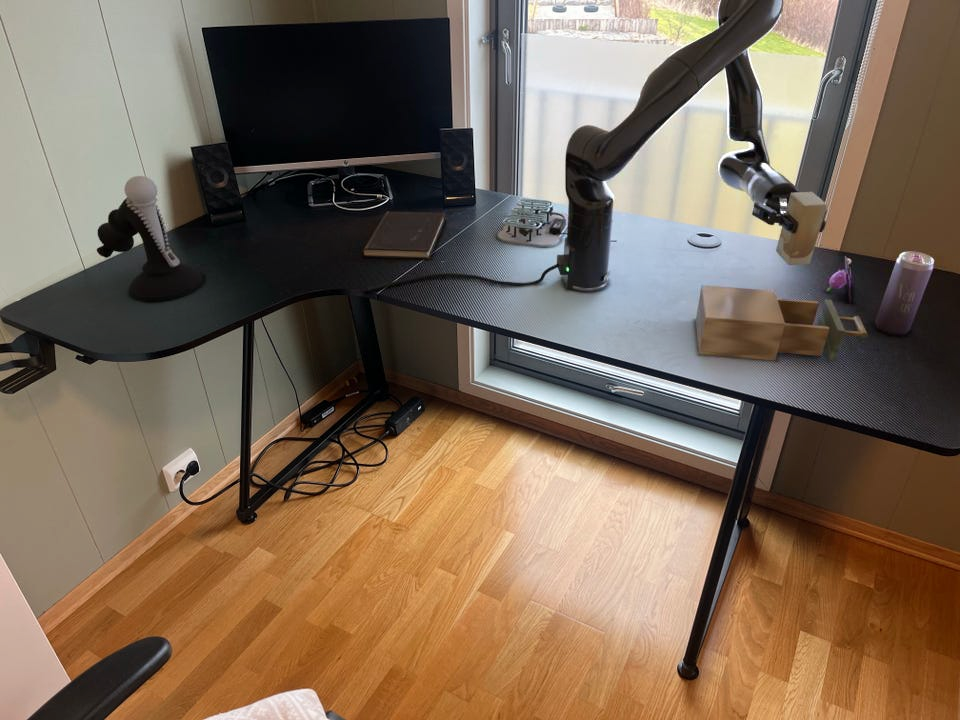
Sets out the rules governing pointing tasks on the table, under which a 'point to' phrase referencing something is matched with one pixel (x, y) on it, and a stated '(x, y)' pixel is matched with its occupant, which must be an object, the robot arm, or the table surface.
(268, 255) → the table surface
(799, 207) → the cosmetic box
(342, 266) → the table surface
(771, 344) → the cabinet
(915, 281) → the beverage can
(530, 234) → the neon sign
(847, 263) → the purple figurine
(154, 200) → the sculpture
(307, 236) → the table surface
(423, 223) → the hardcover book
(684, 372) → the table surface
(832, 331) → the drawer
